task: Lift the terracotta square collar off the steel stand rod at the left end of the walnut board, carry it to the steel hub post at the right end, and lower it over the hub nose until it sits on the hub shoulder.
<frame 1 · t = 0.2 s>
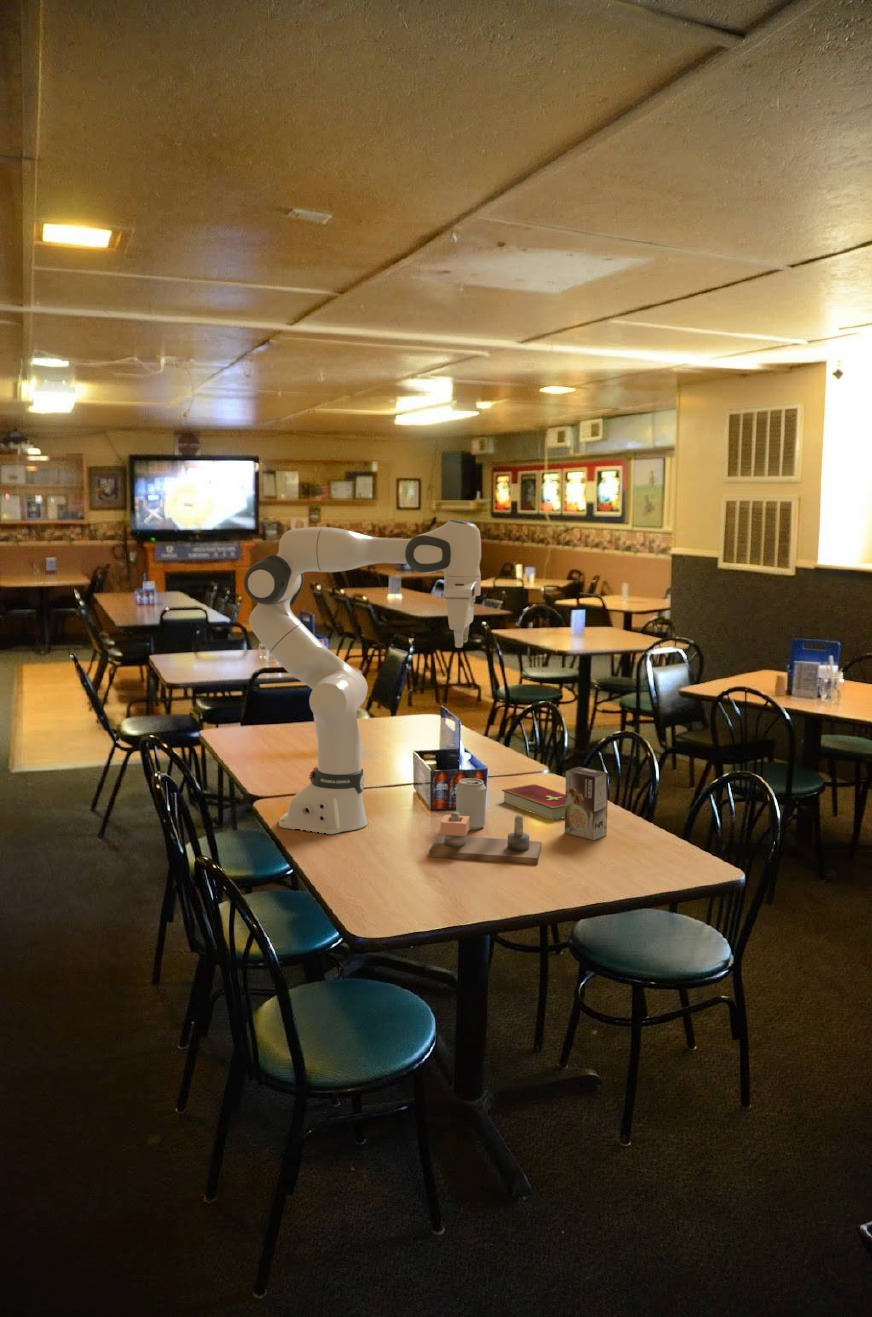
hand: (461, 644, 245), 47 cm above the table, tool pointing down, fingers open, 8 cm apart
stand board: (486, 852, 237), on the table
can: (470, 827, 256), on the table
collar: (455, 831, 237), point 4 cm above the table, touching stand board
hardcover book: (543, 810, 274), on the table
coffee box: (585, 834, 251), on the table
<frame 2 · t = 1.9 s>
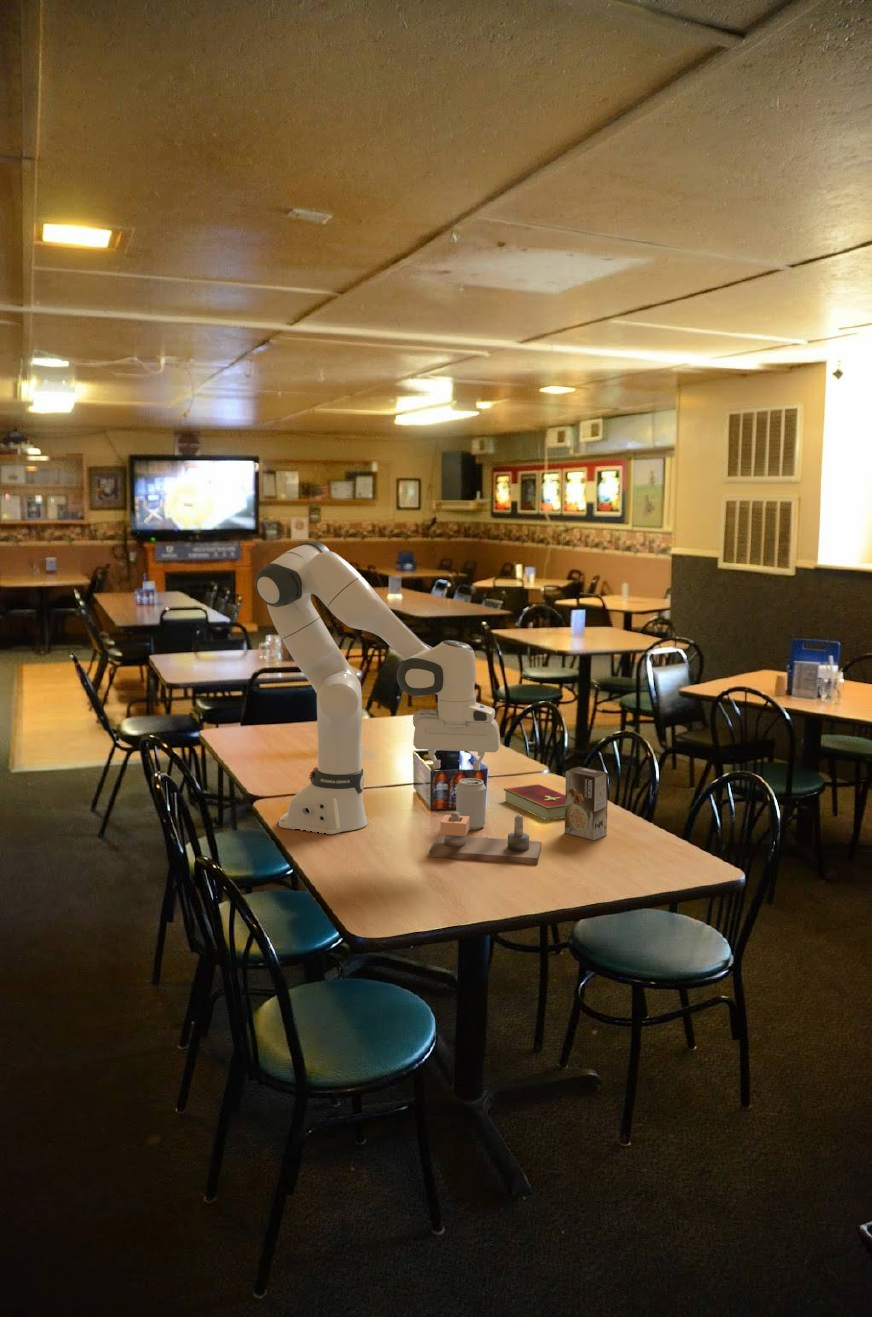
hand: (456, 768, 235), 20 cm above the table, tool pointing down, fingers open, 8 cm apart
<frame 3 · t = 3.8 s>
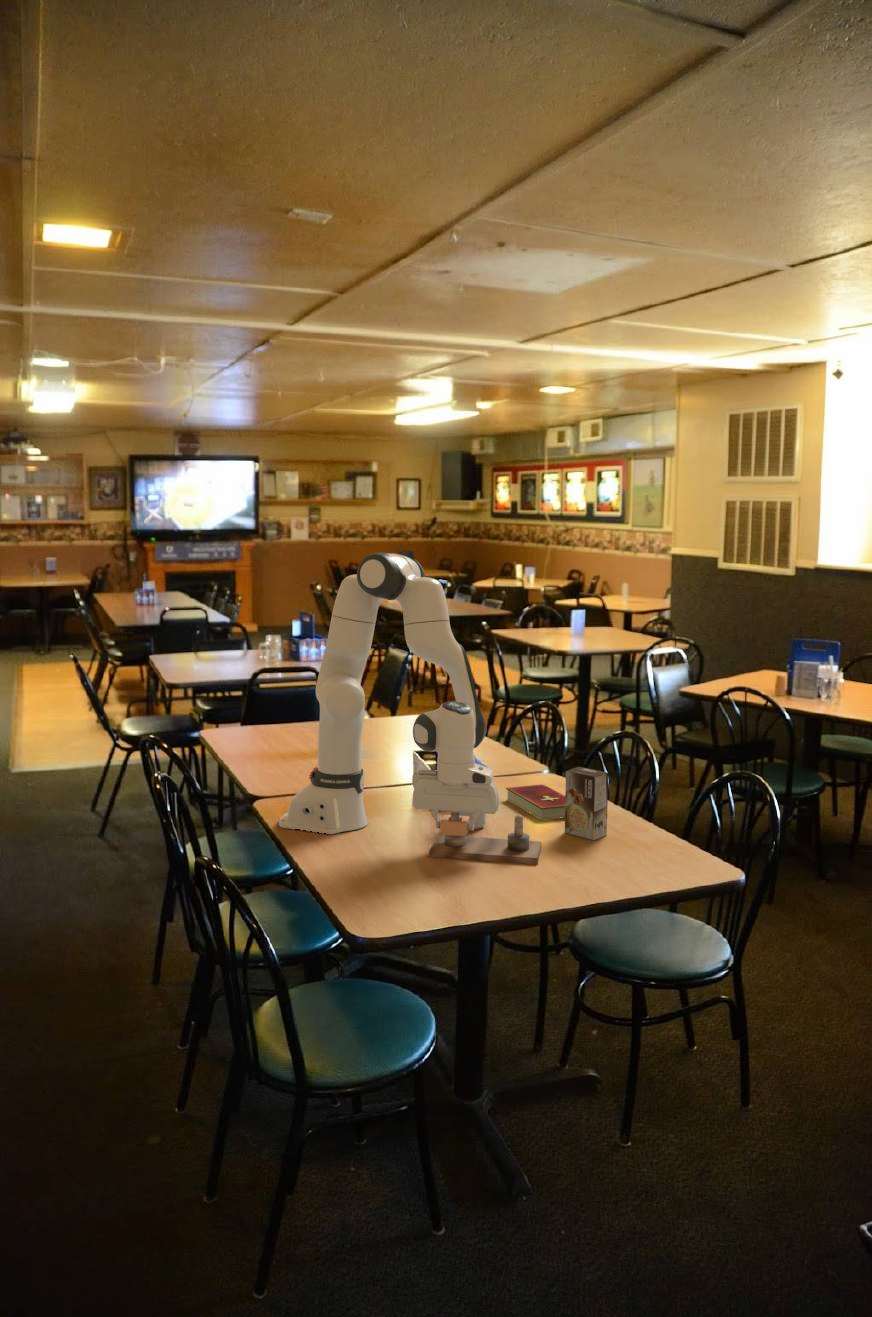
hand: (455, 829, 237), 5 cm above the table, tool pointing down, fingers closed on collar, 6 cm apart
collar: (454, 831, 237), point 5 cm above the table, touching gripper, stand board
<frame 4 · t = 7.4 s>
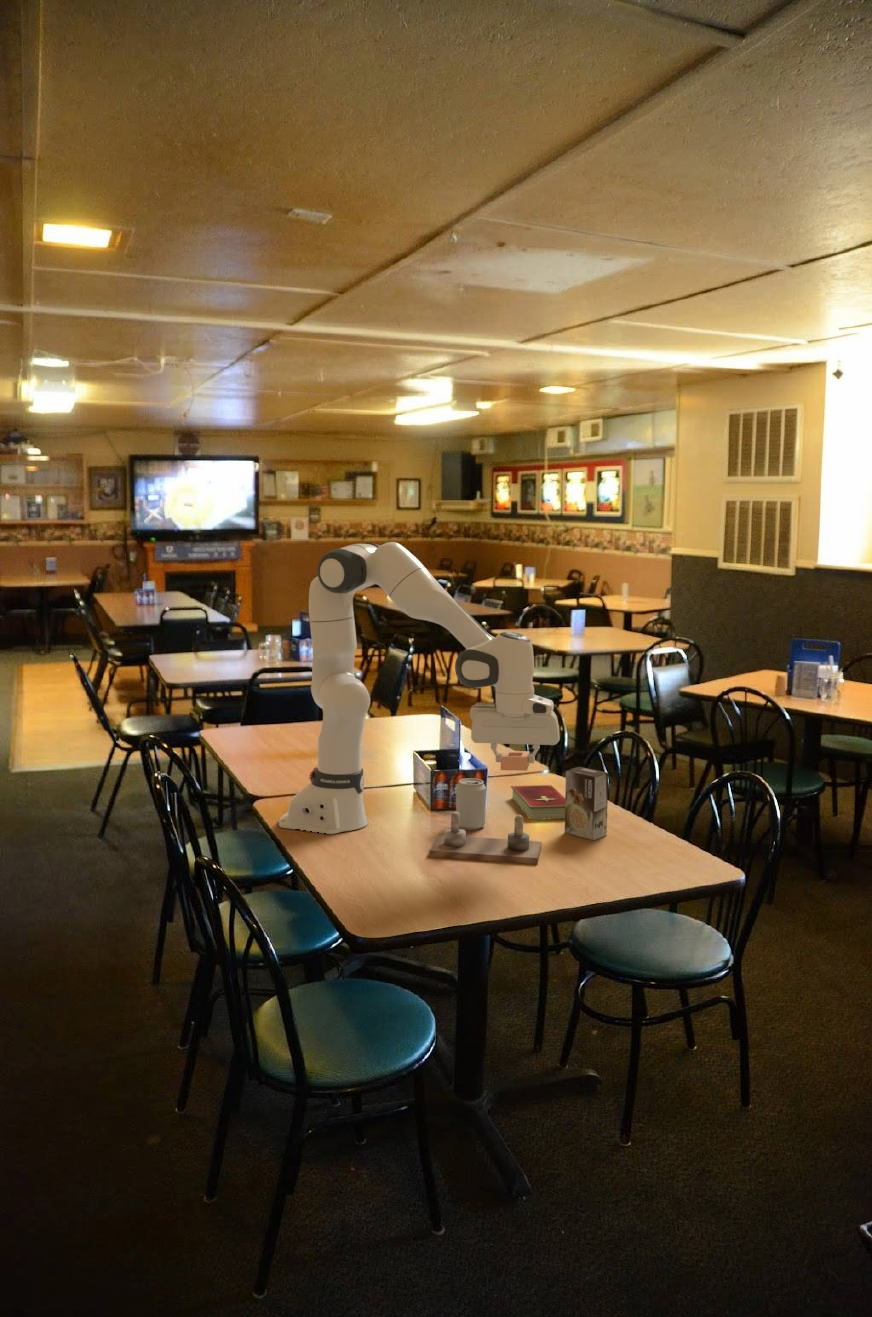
hand: (515, 762, 232), 22 cm above the table, tool pointing down, fingers closed on collar, 6 cm apart
collar: (515, 767, 232), point 21 cm above the table, touching gripper
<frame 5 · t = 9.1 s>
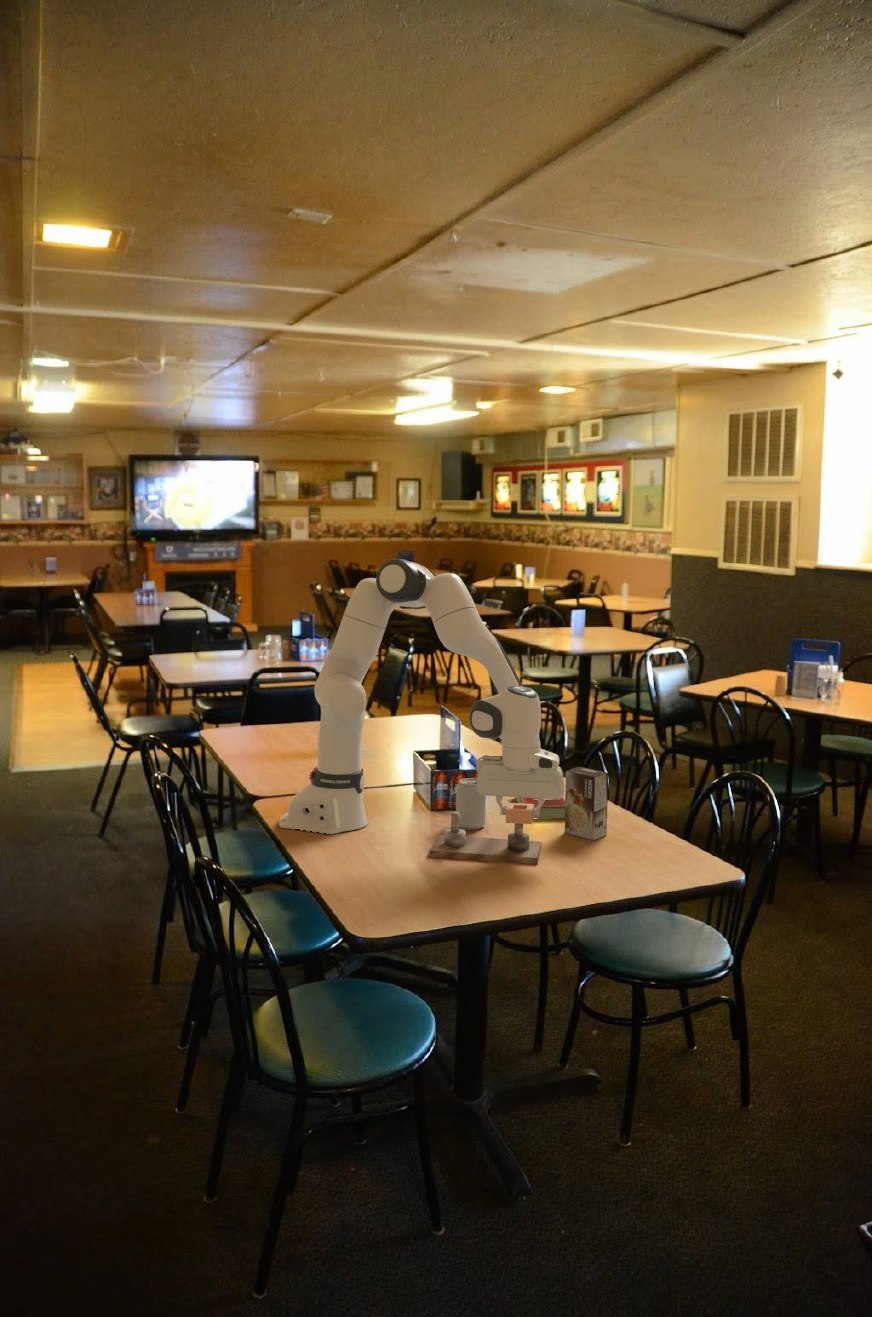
hand: (519, 815, 234), 9 cm above the table, tool pointing down, fingers closed on collar, 6 cm apart
collar: (519, 819, 235), point 8 cm above the table, touching gripper
when the fingers open (6 cm above the table, at t = 10.6 s): collar stays where it is, resting on stand board.
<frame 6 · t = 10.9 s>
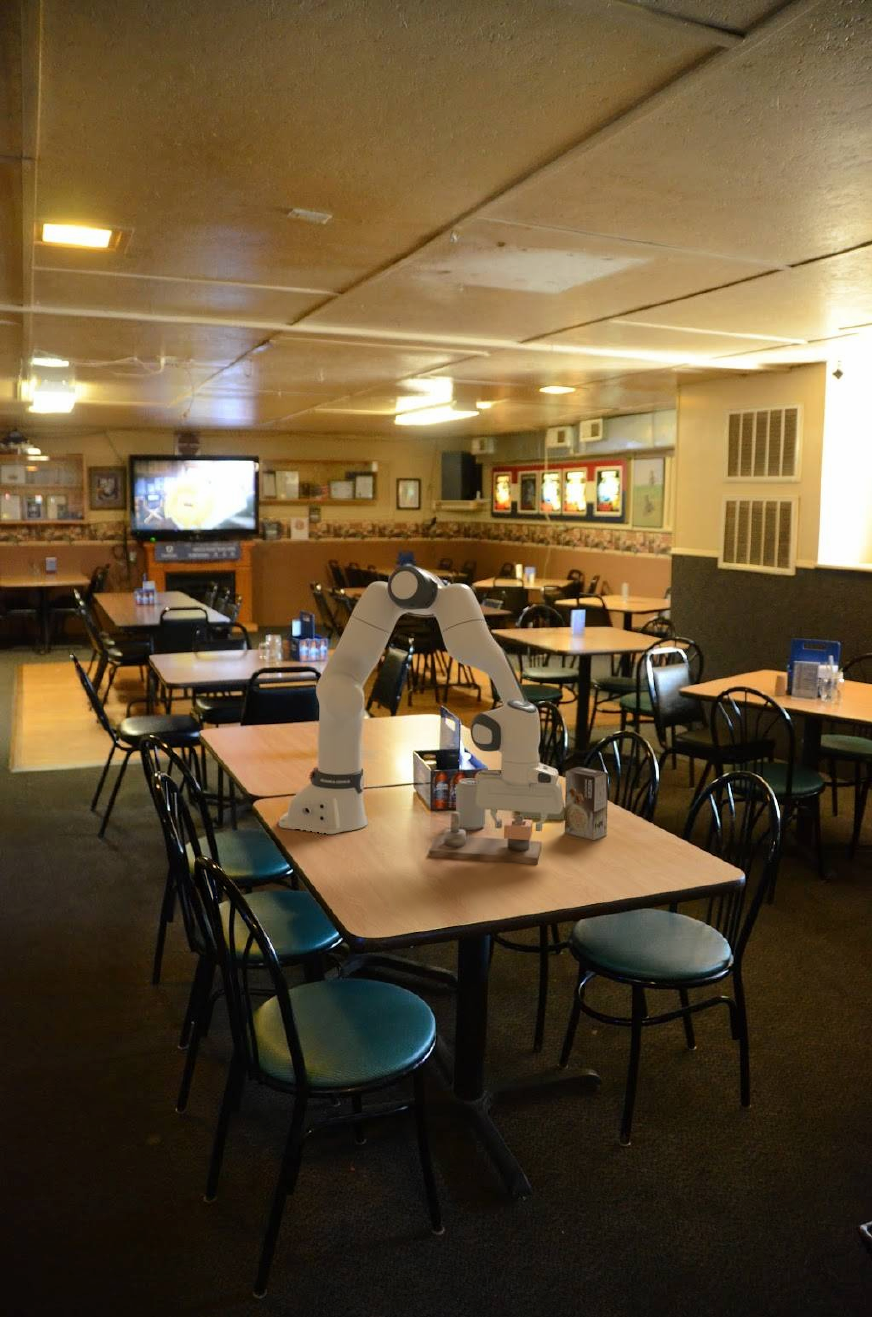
hand: (518, 829, 234), 6 cm above the table, tool pointing down, fingers open, 8 cm apart
collar: (518, 835, 235), point 4 cm above the table, touching stand board
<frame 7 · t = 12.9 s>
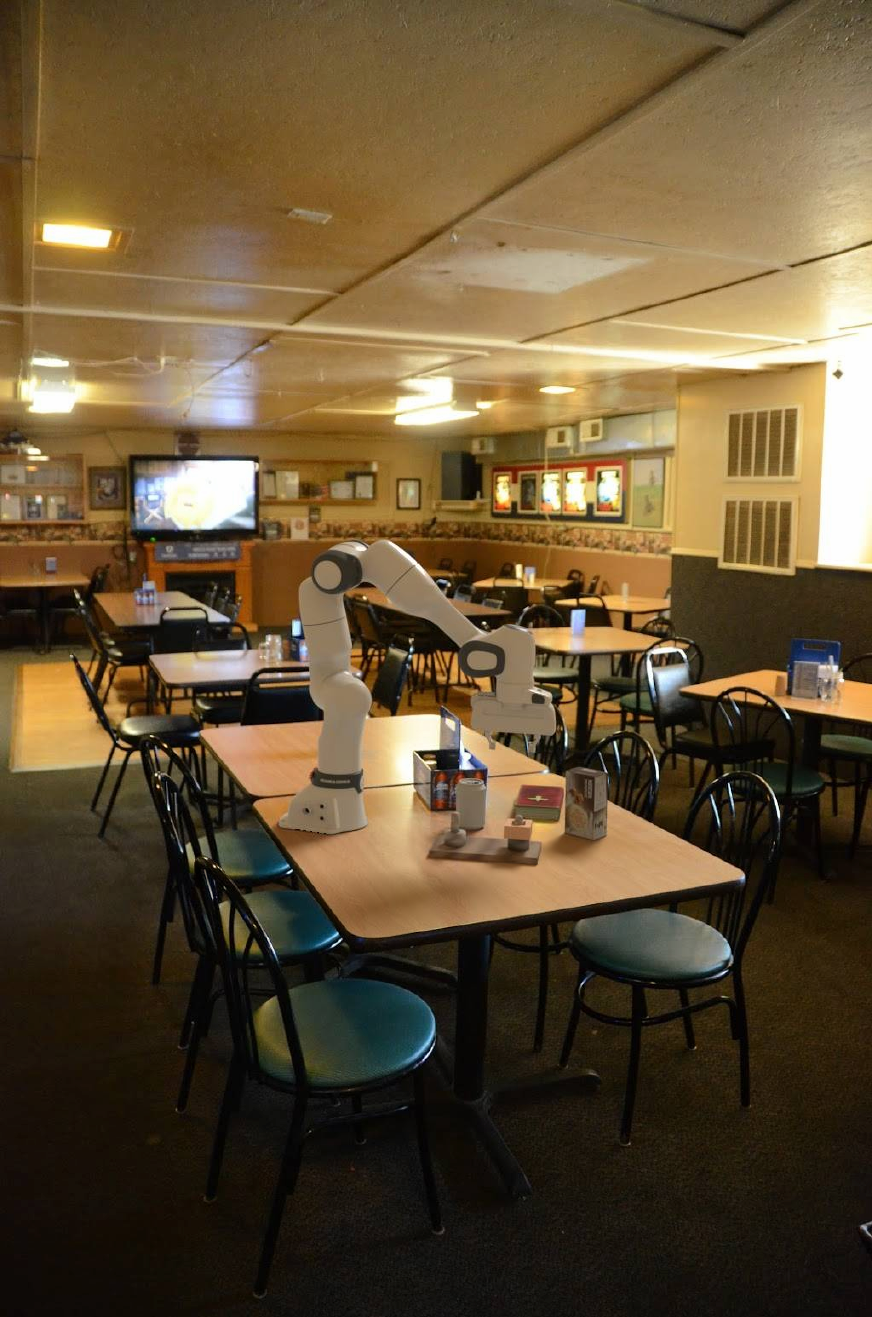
hand: (511, 750, 240), 23 cm above the table, tool pointing down, fingers open, 8 cm apart
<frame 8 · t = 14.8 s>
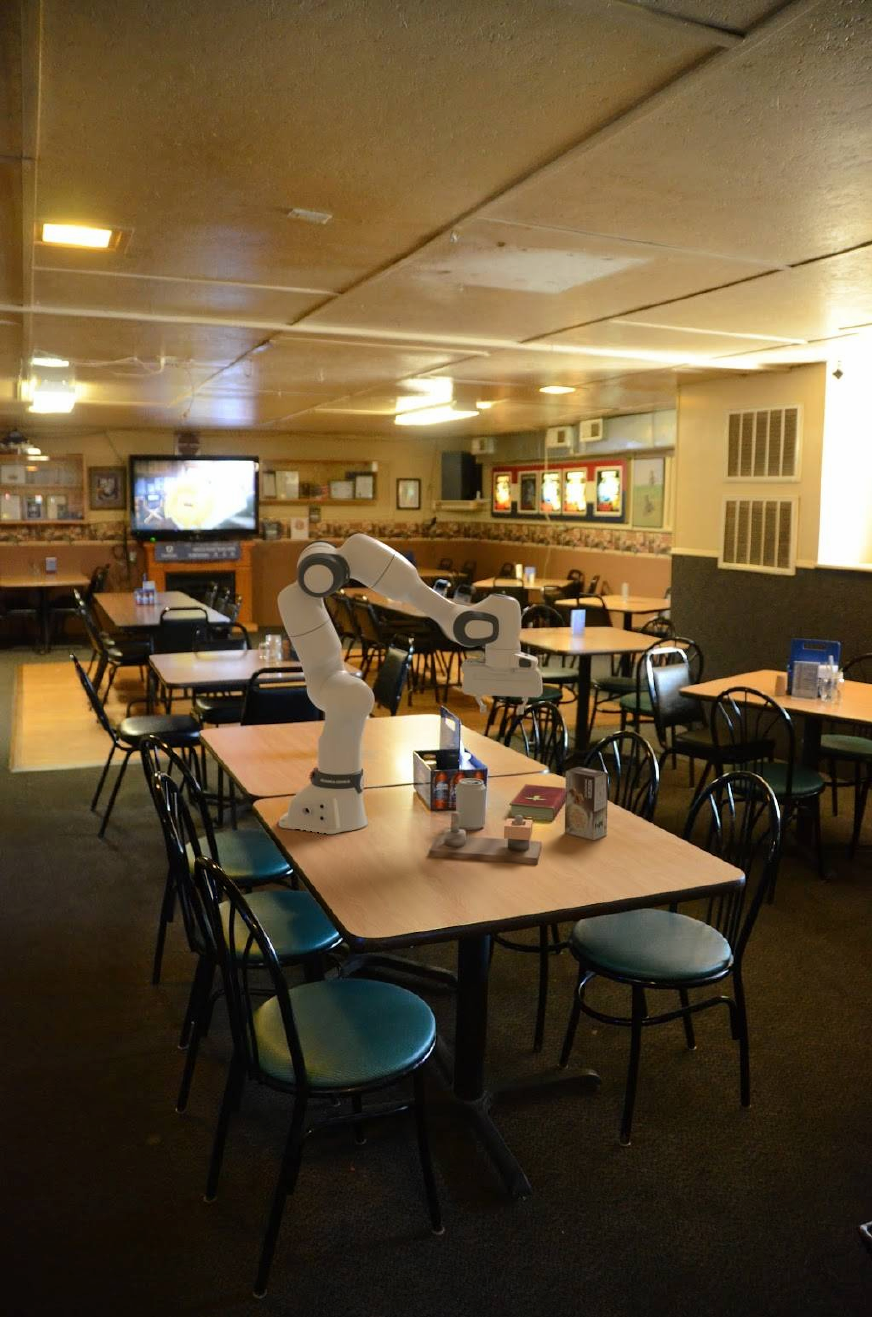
hand: (501, 713, 254), 29 cm above the table, tool pointing down, fingers open, 8 cm apart
at the end: collar 0.3 cm from the target spot on the stand board, point 4.5 cm above the stand board's base; collar tilted 0°; the gripper is holding nothing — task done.
